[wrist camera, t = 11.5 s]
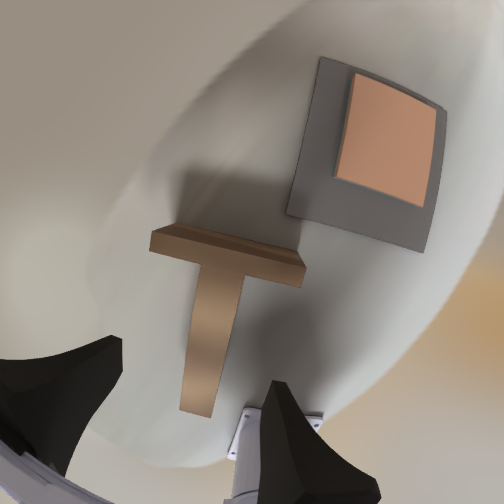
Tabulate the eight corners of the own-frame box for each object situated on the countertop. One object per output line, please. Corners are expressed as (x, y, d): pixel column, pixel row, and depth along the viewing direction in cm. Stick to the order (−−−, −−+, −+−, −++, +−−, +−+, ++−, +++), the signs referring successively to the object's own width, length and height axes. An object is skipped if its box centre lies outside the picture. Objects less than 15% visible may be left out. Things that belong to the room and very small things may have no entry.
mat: (420, 252, 19) (423, 253, 18) (285, 213, 19) (285, 214, 18) (443, 112, 16) (446, 111, 16) (320, 59, 16) (321, 56, 16)
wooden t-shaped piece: (254, 391, 22) (252, 426, 18) (158, 366, 22) (140, 397, 18) (297, 251, 19) (306, 267, 15) (175, 222, 19) (152, 231, 15)
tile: (422, 207, 16) (436, 110, 15) (336, 176, 16) (355, 73, 15) (414, 206, 17) (428, 113, 16) (332, 177, 17) (351, 79, 16)
